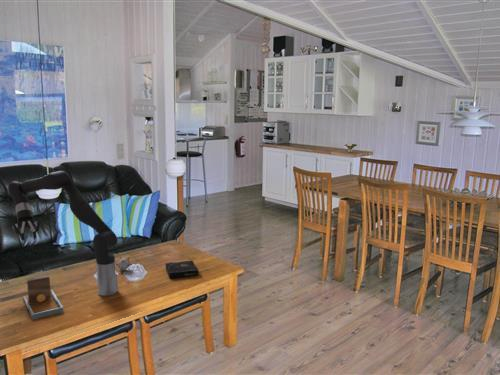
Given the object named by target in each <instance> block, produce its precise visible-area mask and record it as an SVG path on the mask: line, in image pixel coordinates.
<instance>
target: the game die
mask: <svg viewBox="0 0 500 375" xmlns="http://www.w3.org/2000/svg"><path fill="white" fill-rule="evenodd" d="M119 258H120V259H119V261H118V262H117V263H115V266H116V265H117V267H118V269H119V271H126V269H127V268H128V267H129V266H130V265H131V266H132V265H133V264H132V263H131V261H130V259H129V258H130V257H128V258H127V257H126V258H123V257H122V256H121V257H119ZM131 266H130V267H131ZM130 267H129V268H130Z"/></svg>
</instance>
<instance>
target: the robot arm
mask: <svg viewBox="0 0 500 375" xmlns="http://www.w3.org/2000/svg"><path fill="white" fill-rule="evenodd" d="M7 189H8V193H9V195H10V197H11V198H12V200H13V201H14V206H15V214H16V219H17V223H15V224H14V223H13V224H12V226H11V228H12V229H13V231H14V233H15V235H17V236H20V239H21V241H23V242H25V241H26V237H25V234H24V231H25V230H30V231H31V232H32V233H31V234H32V237H33V238H32V239H33V240H36V239H37V233H39V230H40V224H41V223H40V222H41V221H40V220H37V221H36V220H34V218H33V212H32V209H31V205H30V201H29V197H28V196H27V195H29V194H31V193H36V192H38V191H42V190H48V191H49V190H52V191H53V190H55V191H56V190H57V191H58V190H60V189H63V190H64V191H65V193H66V194H67V196H68V200H69V208H70V211H71V212H72V214H73V215H74V216H75V218H76V219H77V220H78V221H80V222H81V223H83V224H85V225H87V226H88V227H90V228H91V229H93V230H94V231H95V232H97V234H95V235H94V237H93V240H92V246H93V252H94V253H93V255H94V258H95V260H96V275H97V276H96V277H97V293H98V295H99V296H102V297H108V296H113V295H115V294H116V293H118V291H119V281H118V274H117V273H116V258H115V255H114V254H113V253H109V249H112V248H114V247H116V246H117V244H118V237H117V235H116V233H115V232H114V231H113V230H112V229H111V228H110V226H108V225H107V223H105V221H103V219H102V218H101V217H100V216H99V214H98V213H97V212H96V211H95V209H93V207H92V206H91V204H90V203H89V202H88V201H87V200H86V198H85V197H84V196H83V195H82V193H81V192H80V190H79V189H78V187H76V185H75V183H74V181H73V179H72V178H71V177H70V175H69V174H68V173H67V172H66V171H65V170H58V171H53V172H50V173H48V174H46V175H44V176H42V177H39V178H32V179H31V178H30V179H27V180H23V182H20V181H16V180H13V181H11V182H10V183H9V184H8V187H7ZM34 225H35V227H36V228H35V227H34ZM18 228H20V231H19V229H18Z"/></svg>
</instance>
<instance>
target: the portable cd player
mask: <svg viewBox="0 0 500 375" xmlns="http://www.w3.org/2000/svg"><path fill="white" fill-rule="evenodd" d="M165 271H166V274H167V276H168V278H169V280H174V279H182V278H185V279H186V278H191V277H193V278H194V277H198V276H199V270H198V268H197V266H196V264H195V262H194V260H183V261H177V262H166V263H165Z"/></svg>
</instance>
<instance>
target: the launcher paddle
mask: <svg viewBox="0 0 500 375" xmlns="http://www.w3.org/2000/svg"><path fill="white" fill-rule="evenodd" d="M50 280H51V279H50V276H49V274H48V275H47V274H46V275H42V276H36V277H32V278H27V279H26V284H27V296H28V297H27V299H28V302H35V301H37V296H38V295H39V294H43V295H45V299H48V298H51V297H52V294H51V284H50V283H51V282H50Z"/></svg>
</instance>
